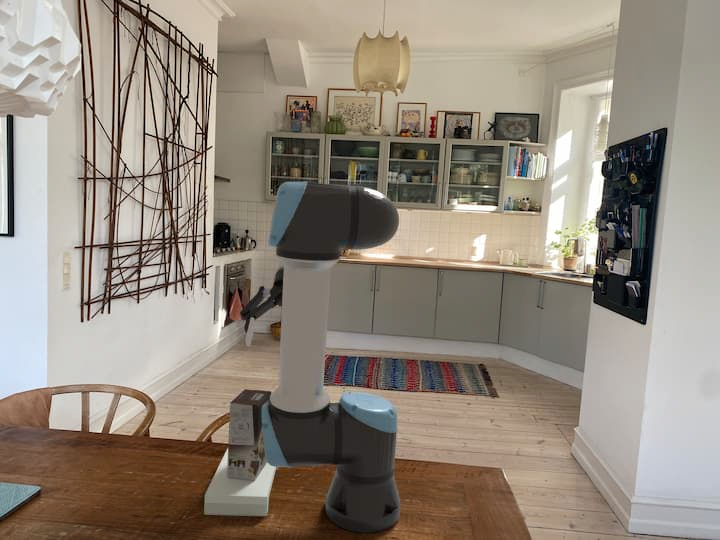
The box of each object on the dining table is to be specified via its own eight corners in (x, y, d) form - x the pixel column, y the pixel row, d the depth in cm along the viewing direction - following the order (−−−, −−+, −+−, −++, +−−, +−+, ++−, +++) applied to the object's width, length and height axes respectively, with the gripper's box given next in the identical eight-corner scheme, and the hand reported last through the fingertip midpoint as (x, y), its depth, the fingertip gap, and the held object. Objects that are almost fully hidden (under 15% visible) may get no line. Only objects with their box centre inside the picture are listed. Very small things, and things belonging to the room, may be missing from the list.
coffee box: (255, 481, 99) (259, 405, 97) (225, 477, 100) (228, 402, 98) (269, 460, 108) (272, 390, 106) (242, 457, 109) (244, 387, 107)
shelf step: (278, 465, 114) (279, 448, 114) (266, 516, 94) (267, 496, 94) (227, 463, 113) (228, 447, 113) (204, 514, 93) (204, 494, 93)
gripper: (337, 287, 129) (330, 356, 115) (244, 282, 130) (226, 350, 116) (337, 269, 123) (329, 339, 110) (240, 263, 124) (220, 333, 110)
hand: (276, 345), depth 113 cm, fingers open, 13 cm apart
